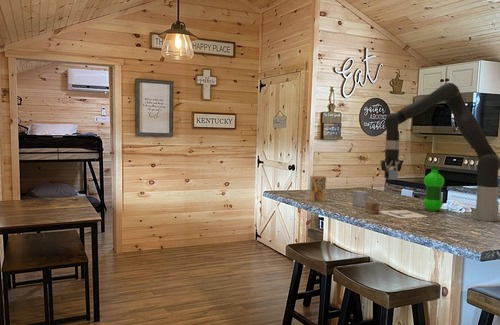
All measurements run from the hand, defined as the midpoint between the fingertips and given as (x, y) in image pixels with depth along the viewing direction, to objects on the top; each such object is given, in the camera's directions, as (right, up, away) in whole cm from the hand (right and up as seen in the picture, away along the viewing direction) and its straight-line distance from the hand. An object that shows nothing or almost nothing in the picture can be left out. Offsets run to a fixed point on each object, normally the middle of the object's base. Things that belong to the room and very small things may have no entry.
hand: (390, 178), depth 239 cm
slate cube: (0, 0, 0) cm, 0 cm away
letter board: (0, -19, -18) cm, 26 cm away
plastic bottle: (+22, -18, -3) cm, 29 cm away
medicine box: (-16, -17, +5) cm, 24 cm away
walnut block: (-16, -18, -18) cm, 30 cm away
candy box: (-39, -15, +21) cm, 47 cm away
